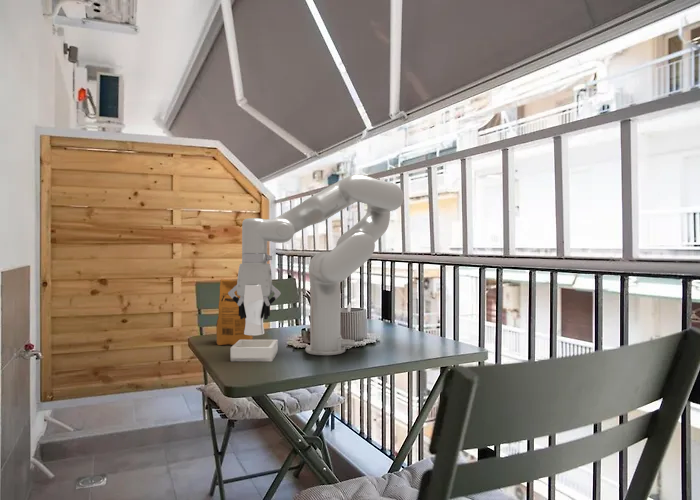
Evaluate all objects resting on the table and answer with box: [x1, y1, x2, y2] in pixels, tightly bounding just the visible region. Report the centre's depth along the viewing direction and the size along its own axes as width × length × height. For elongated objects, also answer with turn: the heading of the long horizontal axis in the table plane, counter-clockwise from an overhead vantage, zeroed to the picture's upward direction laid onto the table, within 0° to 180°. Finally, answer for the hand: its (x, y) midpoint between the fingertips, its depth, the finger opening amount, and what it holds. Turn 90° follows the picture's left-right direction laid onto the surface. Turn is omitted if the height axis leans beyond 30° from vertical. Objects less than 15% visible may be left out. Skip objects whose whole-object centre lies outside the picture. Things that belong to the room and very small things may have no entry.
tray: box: [230, 339, 279, 362], centre depth 149 cm, size 12×12×4 cm
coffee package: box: [215, 278, 254, 346], centre depth 170 cm, size 10×12×22 cm
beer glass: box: [243, 285, 265, 336], centre depth 149 cm, size 7×7×15 cm
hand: (254, 318), depth 149 cm, fingers closed on beer glass, 6 cm apart
